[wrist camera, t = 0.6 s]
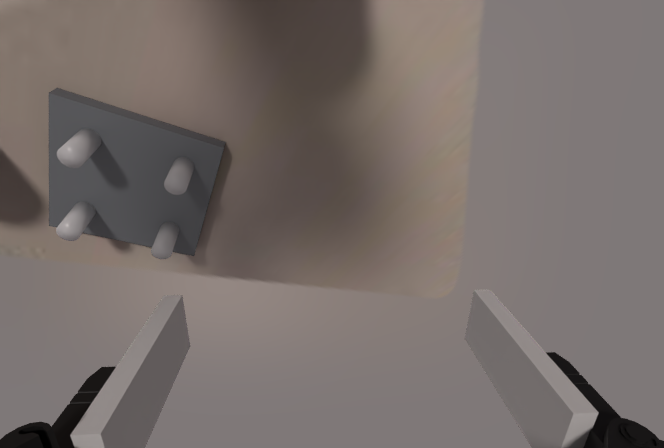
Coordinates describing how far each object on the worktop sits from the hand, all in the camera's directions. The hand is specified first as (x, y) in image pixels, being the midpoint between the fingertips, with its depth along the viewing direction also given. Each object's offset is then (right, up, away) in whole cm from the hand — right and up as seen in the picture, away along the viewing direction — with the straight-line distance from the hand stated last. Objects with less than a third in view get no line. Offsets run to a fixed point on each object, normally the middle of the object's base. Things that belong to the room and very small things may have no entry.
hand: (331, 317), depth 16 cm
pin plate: (-21, +9, +22) cm, 32 cm away
